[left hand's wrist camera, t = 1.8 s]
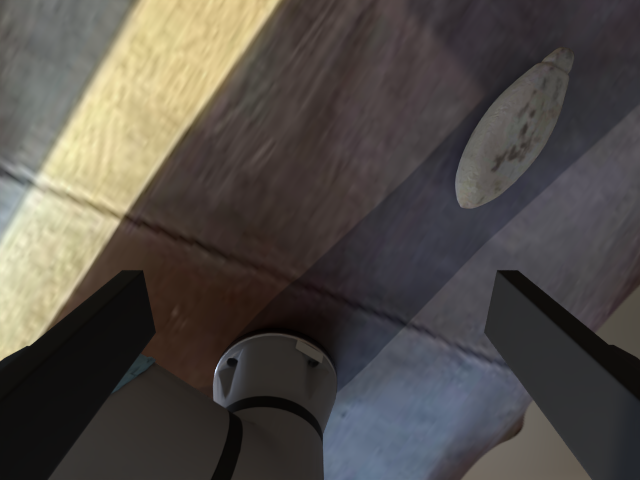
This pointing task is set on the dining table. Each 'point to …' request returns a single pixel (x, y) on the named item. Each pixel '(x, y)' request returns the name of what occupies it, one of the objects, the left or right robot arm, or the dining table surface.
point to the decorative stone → (513, 131)
